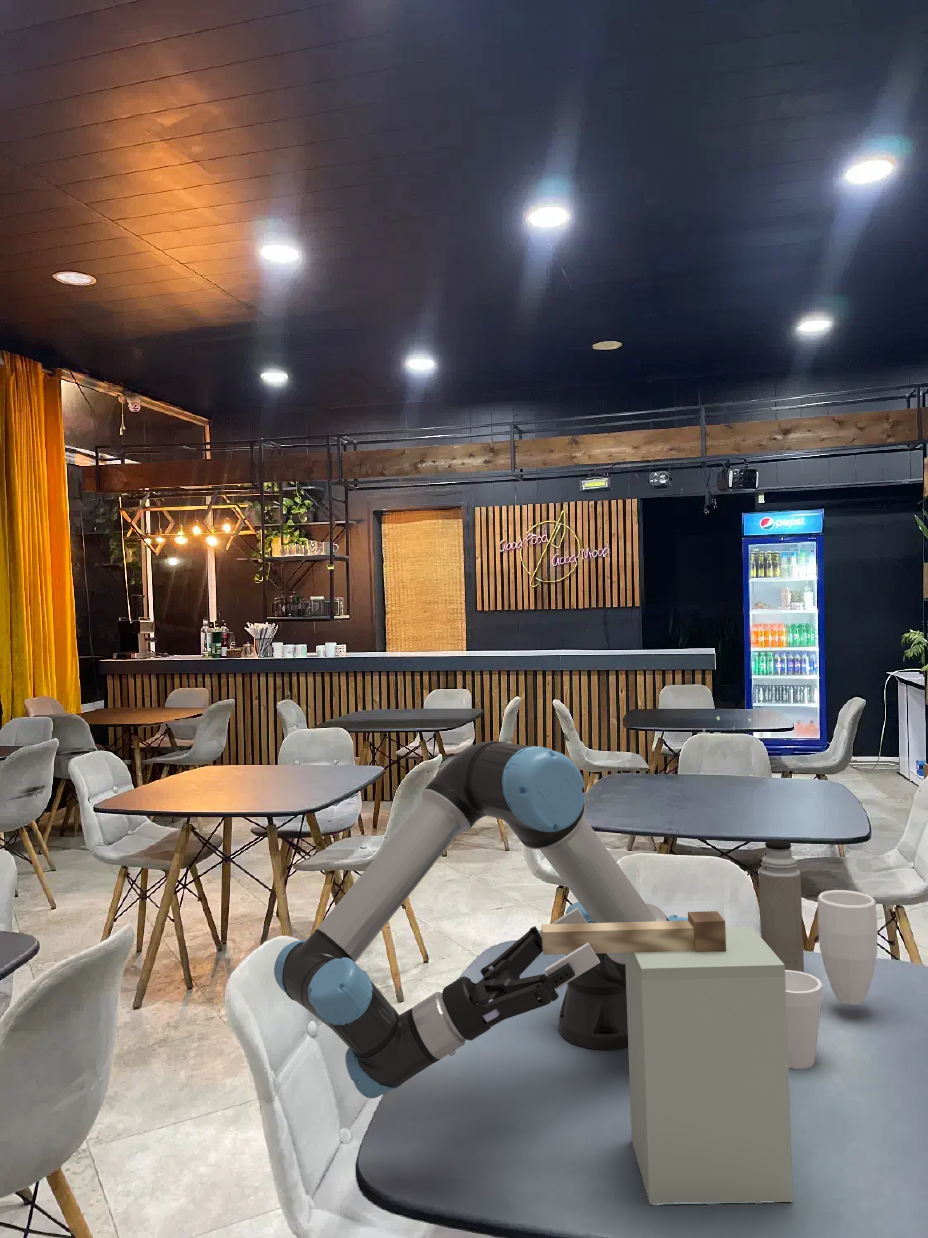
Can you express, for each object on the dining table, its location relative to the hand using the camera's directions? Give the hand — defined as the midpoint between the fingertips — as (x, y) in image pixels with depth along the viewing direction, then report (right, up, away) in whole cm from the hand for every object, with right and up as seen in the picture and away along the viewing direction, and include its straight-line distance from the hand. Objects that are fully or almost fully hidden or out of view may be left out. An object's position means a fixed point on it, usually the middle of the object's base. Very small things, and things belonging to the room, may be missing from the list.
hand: (588, 933), depth 120 cm
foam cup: (+38, -31, +28) cm, 57 cm away
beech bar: (+6, -2, 0) cm, 6 cm away
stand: (+16, -32, 0) cm, 36 cm away
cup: (+54, -31, +44) cm, 76 cm away
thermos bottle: (+47, -31, +59) cm, 82 cm away
